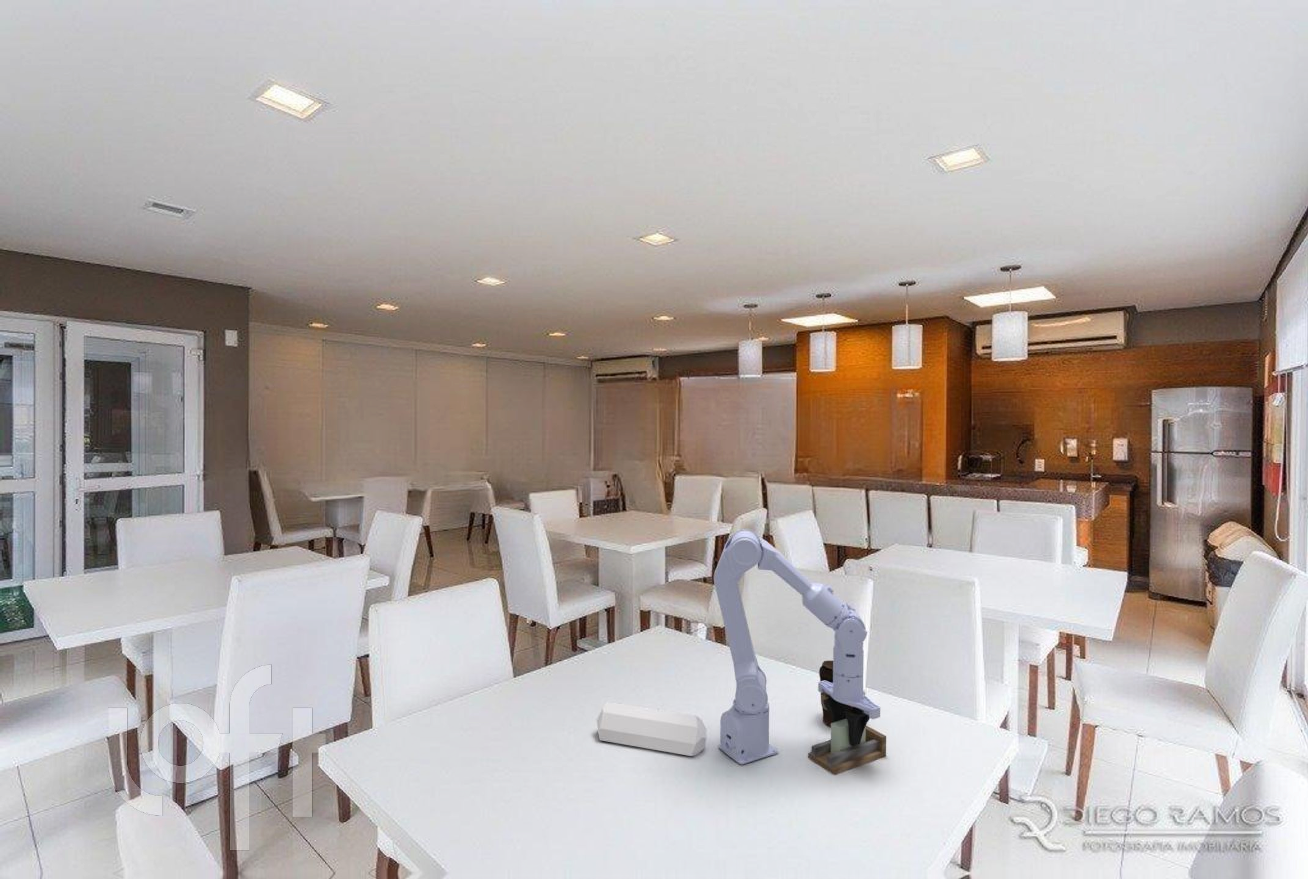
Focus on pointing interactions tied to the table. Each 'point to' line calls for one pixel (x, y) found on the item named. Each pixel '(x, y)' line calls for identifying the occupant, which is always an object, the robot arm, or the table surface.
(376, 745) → the table surface
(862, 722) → the robot arm
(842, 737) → the door panel
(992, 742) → the table surface
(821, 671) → the coffee cup
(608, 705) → the crystal
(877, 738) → the track sill
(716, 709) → the table surface
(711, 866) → the table surface
